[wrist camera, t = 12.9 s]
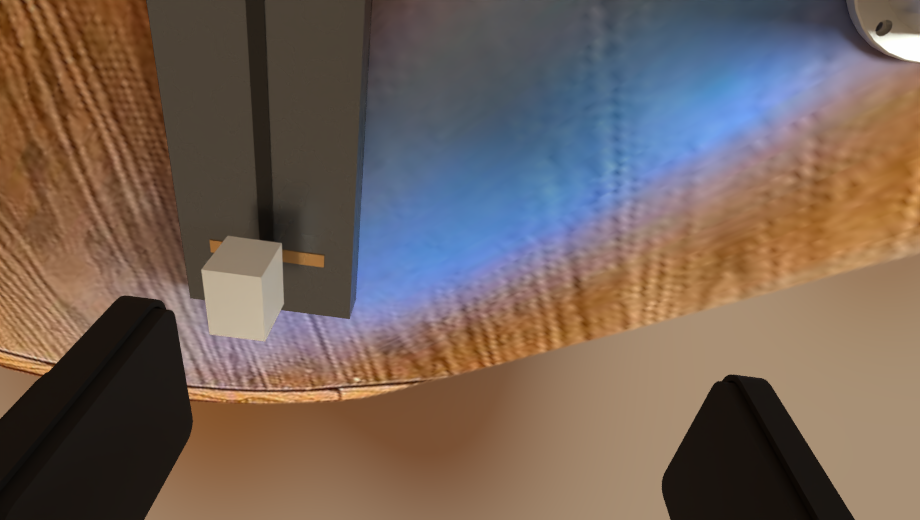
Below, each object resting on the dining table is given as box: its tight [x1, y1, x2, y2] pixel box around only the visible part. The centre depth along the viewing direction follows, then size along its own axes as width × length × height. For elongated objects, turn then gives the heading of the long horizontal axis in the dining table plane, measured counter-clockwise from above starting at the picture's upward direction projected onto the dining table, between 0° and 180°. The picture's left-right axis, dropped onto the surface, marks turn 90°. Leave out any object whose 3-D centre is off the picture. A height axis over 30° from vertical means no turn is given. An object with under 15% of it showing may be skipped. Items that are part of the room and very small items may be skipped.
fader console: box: [146, 0, 372, 319], centre depth 35 cm, size 28×12×3 cm, turn 172°
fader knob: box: [201, 236, 284, 341], centre depth 36 cm, size 5×4×6 cm
